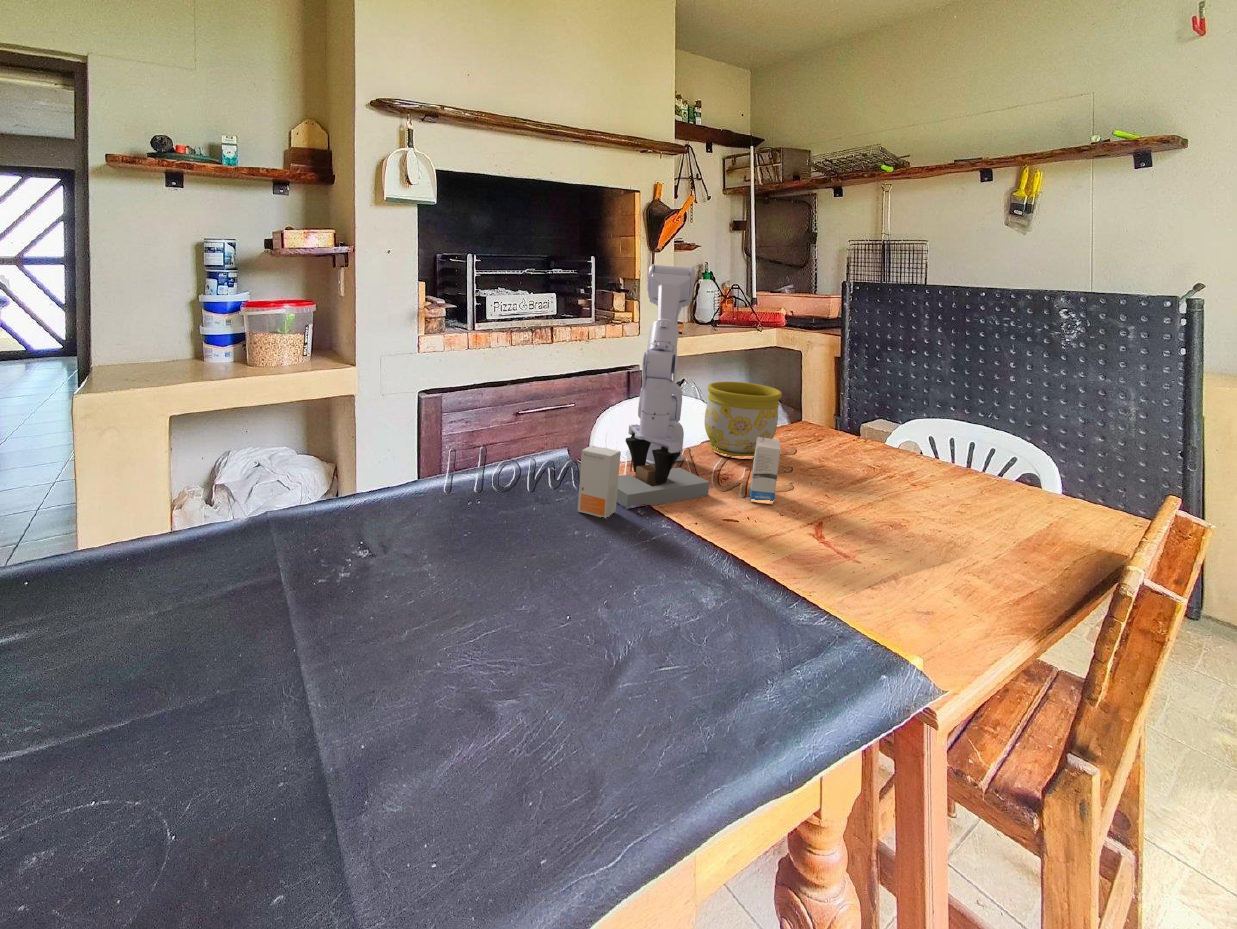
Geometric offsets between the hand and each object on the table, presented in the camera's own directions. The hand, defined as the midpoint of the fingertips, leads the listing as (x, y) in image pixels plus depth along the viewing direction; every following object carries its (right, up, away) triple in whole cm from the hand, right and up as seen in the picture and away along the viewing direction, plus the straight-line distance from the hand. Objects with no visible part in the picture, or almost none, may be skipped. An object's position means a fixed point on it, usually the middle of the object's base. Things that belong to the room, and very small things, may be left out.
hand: (649, 477), depth 139 cm
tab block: (0, -3, +1) cm, 3 cm away
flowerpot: (+23, +5, +34) cm, 41 cm away
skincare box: (-10, -6, -12) cm, 17 cm away
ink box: (+23, -4, +2) cm, 24 cm away
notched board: (+1, -3, -1) cm, 4 cm away
